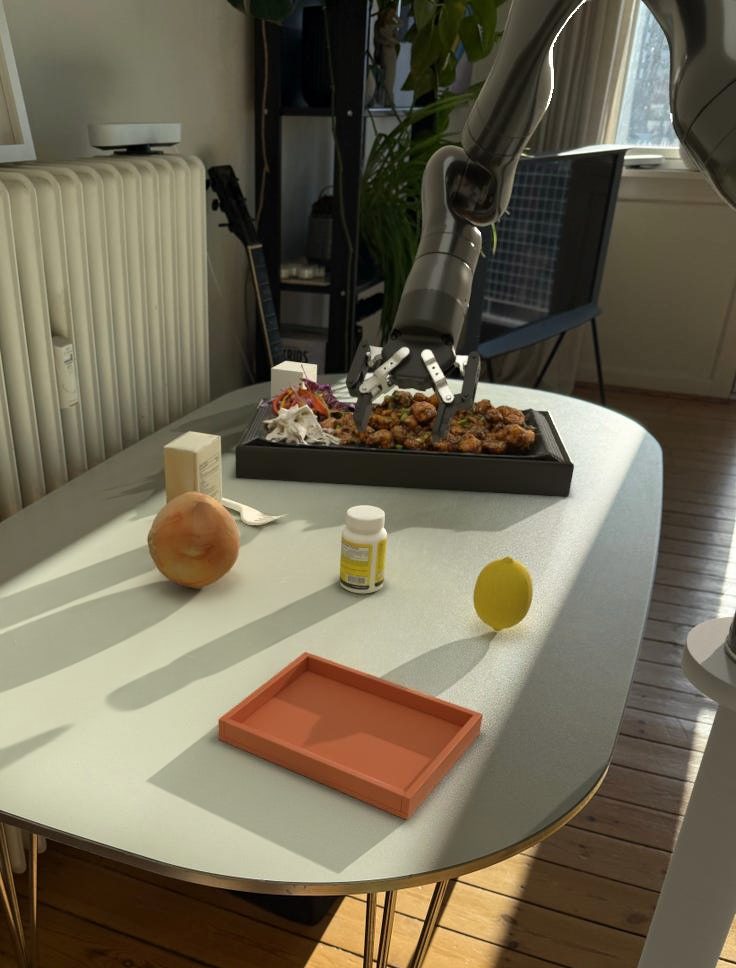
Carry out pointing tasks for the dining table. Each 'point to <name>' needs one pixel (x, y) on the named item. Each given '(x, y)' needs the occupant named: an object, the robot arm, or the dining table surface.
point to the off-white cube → (291, 376)
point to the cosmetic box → (193, 465)
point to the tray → (353, 732)
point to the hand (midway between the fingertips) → (397, 434)
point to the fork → (249, 513)
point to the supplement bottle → (363, 550)
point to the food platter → (403, 444)
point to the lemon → (503, 593)
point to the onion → (194, 540)
